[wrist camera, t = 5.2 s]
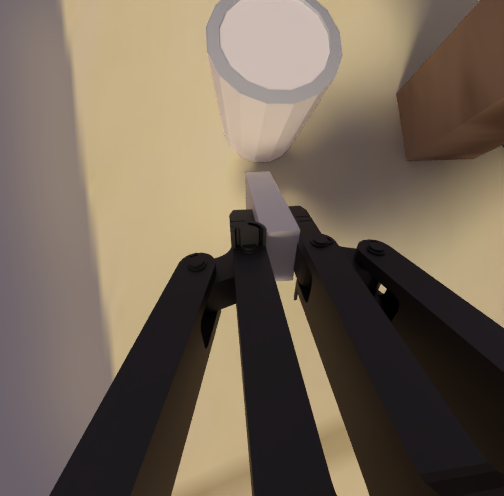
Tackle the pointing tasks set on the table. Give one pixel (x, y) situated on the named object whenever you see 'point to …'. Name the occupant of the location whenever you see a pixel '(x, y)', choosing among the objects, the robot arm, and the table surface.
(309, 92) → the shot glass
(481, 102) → the walnut block
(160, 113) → the table surface
